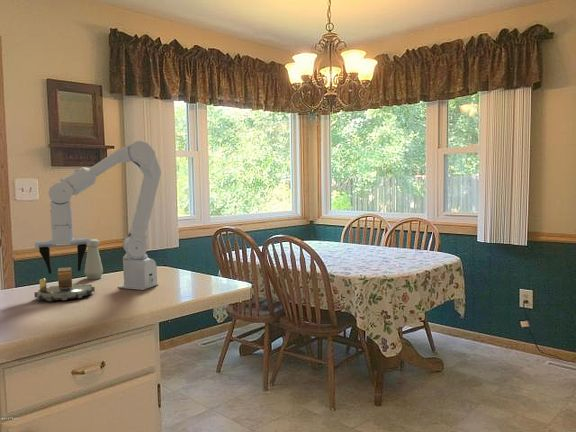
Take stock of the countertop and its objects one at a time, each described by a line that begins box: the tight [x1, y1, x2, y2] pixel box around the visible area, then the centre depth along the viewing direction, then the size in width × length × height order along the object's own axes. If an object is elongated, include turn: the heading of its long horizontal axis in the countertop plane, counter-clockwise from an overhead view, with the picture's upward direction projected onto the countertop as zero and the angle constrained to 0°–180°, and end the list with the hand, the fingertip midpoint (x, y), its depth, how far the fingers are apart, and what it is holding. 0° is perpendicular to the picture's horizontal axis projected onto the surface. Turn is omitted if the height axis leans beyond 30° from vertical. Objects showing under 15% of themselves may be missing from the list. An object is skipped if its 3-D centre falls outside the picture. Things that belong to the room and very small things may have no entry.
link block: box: [57, 267, 73, 288], centre depth 142 cm, size 5×4×5 cm
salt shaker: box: [83, 238, 104, 280], centre depth 163 cm, size 6×6×13 cm
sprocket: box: [34, 278, 96, 302], centre depth 138 cm, size 15×15×5 cm
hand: (64, 271), depth 142 cm, fingers open, 7 cm apart
